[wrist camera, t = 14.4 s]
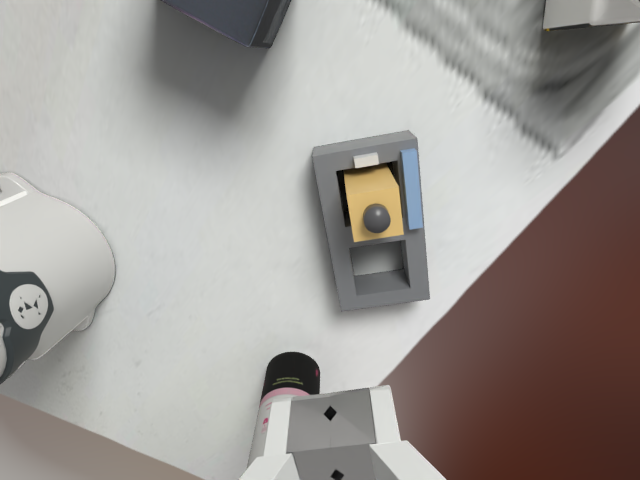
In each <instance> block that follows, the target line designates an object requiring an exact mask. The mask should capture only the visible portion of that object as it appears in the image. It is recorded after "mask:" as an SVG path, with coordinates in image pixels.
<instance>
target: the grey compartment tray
mask: <svg viewBox="0 0 640 480" xmlns="http://www.w3.org/2000/svg"><path fill="white" fill-rule="evenodd" d="M312 158H313V164H314V169H315V174H316V180H317V185H318V190H319V196H320V201H321V206H322V212H323V217H324V222H325V227H326V233H327V238H328V243H329V249H330V254H331V259H332V265H333V270H334V275H335V280H336V286H337V291H338V296H339V302H340V307H341V311H348V310H356V309H363V308H370V307H378V306H385V305H392V304H399V303H407V302H414V301H421V300H429V299H430V294H429V281H428V269H427V256H426V243H425V231H424V218H423V205H422V192H421V180H420V167H419V154H418V142H417V137H415V136H414V135H413V134H412V133H411V132H410V131H409V130H407V131H402V132H396V133H390V134H385V135H379V136H373V137H368V138H362V139H356V140H351V141H345V142H339V143H334V144H328V145H322V146H317V147H314V149H313V154H312ZM391 161H392V163H393V173H394V179H395V181H396V183H397V185H398V186H399V194H400V203H401V213H402V223H403V232H404V235H398V236H391V237H385V238H378V239H372V240H365V241H359V242H354V239H353V233H352V226H351V220H350V214H349V211H347V212H344V211H343V205H342V199H341V193H340V186H339V180H338V174H337V171H338V170H344V169H350V168H360V167H366V166H372V165H378V164H379V163H385V162H391ZM399 240H401V248H402V257H403V267H404V269H400V270H393V271H386V272H379V273H373V274H366V275H359V276H354V271H353V265H352V259H351V253H350V248H353V247H360V246H366V245H373V244H380V243H386V242H393V241H399Z"/></svg>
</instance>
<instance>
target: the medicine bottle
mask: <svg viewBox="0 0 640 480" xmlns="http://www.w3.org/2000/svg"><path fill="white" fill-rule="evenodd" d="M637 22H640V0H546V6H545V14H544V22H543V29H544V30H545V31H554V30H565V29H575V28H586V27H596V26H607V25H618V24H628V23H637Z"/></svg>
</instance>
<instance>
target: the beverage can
mask: <svg viewBox="0 0 640 480" xmlns="http://www.w3.org/2000/svg"><path fill="white" fill-rule="evenodd" d="M319 391H320V370H319V367H318V365H317V363H316V362H315V361H314V360H313V359H312V358H311V357H309V356H308V355H305V354H303V353H299V352H285V353H282V354H279V355H277V356H276V357H274V358H273V359H272V360H271V361H270V363H269V364H268V367H267V371H266V376H265V381H264V386H263V391H262V396H261V401H260V406H259V411H258V416H257V421H256V426H255V431H254V436H253V441H252V446H251V451H250V456H249V461H248V466H247V468H248V467H249V466H250V465H251V463H252V462H253V461H254V460H255V458H256V457H261V456H263V450H264V444H265V438H266V432H267V426H268V420H269V413H270V407H271V403H272V401H273V399H279V398H290V397H296V396H306V395H316V394H319Z"/></svg>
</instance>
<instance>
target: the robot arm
mask: <svg viewBox="0 0 640 480" xmlns="http://www.w3.org/2000/svg"><path fill="white" fill-rule="evenodd" d="M0 189H1V190H2V192H1V191H0V384H1V383H3V382H4V381H5V380H6V379H7V378H9V377H10V376H12V375H13V374H14V373H15V372H17V371H18V370H19V369H20V368H21V367H22V366H23V364H24V363H25V361H26V360H30V359H31V360H36V359H39V358H40V357H42V356H43V355H44V354H45V353H47V352H48V351H49V350H50V349H51V348H52V347H54V346H55V345H56V344H57V343H58V342H59V341H61V340H62V339H63V338H64V337H65V336H66V335H67V334H68V333H70V332H71V331H82V330H84V329H86V328H87V327H88V326H89V325H90V324H91V323H92V320H93V317H94V313H95V308H96V307H97V305H98V304H99V303H100V302H101V301H102V300H103V299H104V298H105V297H106V296H107V294H108V293H109V291H110V289H111V287H112V285H113V282H114V277H115V263H114V258H113V254H112V251H111V248H110V246H109V244H108V242H107V240H106V238H105V237H104V235H103V234H102V233H101V231H100V230H99V229H98V227H97V226H96V225H95V224H94V223H93V222H92V221H91V220H90V219H89V218H88V217H87V216H85V215H84V214H83V213H82V212H80V211H79V210H77V209H76V208H74V207H73V206H71V205H69V204H67V203H66V202H64V201H61V200H59V199H56V198H54V197H51V196H49V195H46V194H44V193H42V192H40V191H38V190H37V189H35V188H34V187H33V186H32V185H30V184H29V183H28V182H27V181H25V180H24V179H22V178H21V177H20V176H18V175H16V174H14V173H11V172H5V173H2V174H0ZM238 480H446V479H445V478H444V477H443V476H442V475H441V474H440V473H439V472H438V471H437V470H436V469H435V468H434V467H433V466H432V465H431V464H430V463H429V462H428V461H427V460H426V459H425V458H424V457H423V456H422V455H421V454H420V453H419V452H418V451H417V450H416V449H415V448H414V447H413V446H412V445H411V444H410V443H409V442H408V441H401V439H400V434H399V429H398V424H397V419H396V413H395V408H394V403H393V398H392V393H391V388H390V386H389V385H385V386H377V387H370V390H369V388H363V389H355V390H348V391H340V392H333V393H327V394H316V395H306V396H296V397H290V398H279V399H273V401H272V403H271V407H270V413H269V420H268V426H267V432H266V438H265V444H264V450H263V456H261V457H256V458H255V460H254V461H253V462H252V463H251V465H250V466H249V467H248V468H247V470H246V471H245V472H244V473H243V474H242V476H241V477H240V478H239V479H238Z"/></svg>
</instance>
